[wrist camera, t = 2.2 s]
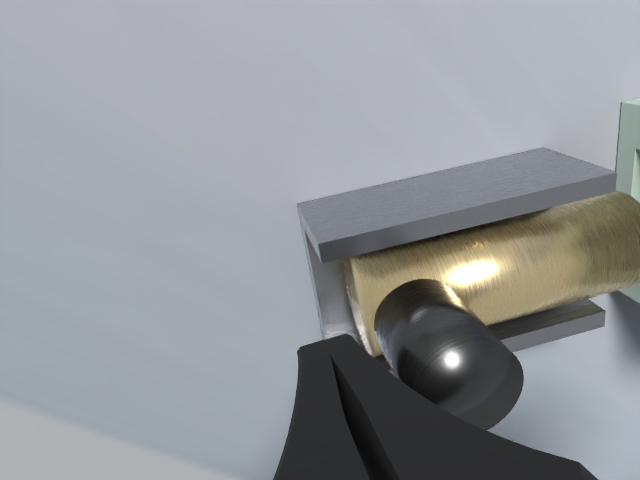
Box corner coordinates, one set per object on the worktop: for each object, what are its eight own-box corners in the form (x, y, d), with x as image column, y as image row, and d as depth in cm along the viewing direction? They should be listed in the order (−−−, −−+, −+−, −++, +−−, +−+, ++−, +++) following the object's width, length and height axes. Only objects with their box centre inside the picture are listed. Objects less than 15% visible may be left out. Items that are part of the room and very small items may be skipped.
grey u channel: (543, 147, 18) (617, 172, 15) (541, 279, 20) (604, 326, 17) (296, 203, 17) (318, 244, 13) (323, 337, 19) (346, 398, 16)
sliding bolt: (588, 179, 17) (776, 250, 12) (584, 260, 19) (750, 361, 13) (338, 239, 16) (410, 350, 10) (352, 321, 17) (421, 460, 12)
